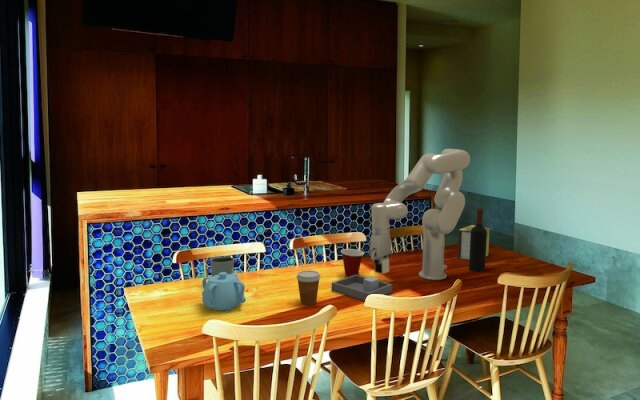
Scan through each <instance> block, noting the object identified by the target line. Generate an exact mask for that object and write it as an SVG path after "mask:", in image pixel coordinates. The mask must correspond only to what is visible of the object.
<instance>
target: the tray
mask: <svg viewBox="0 0 640 400" xmlns="http://www.w3.org/2000/svg"><path fill="white" fill-rule="evenodd" d="M366 278H367V277H365V276H362V275H360V274H358V275H353V276H350V277H345V278H341V279H338V280H336V281H332V282H331V291H332V292H335V293H338V294H340V295H344V296H347V297H351V298H353V299H356V300H360V301H363V302H366V301H365V299H366V297H367V296H368V295H370V294H384V295H385V296H387V294H388V295H389V294H392V293H393V284H392V283H388V282H384V281H380V280H379V287H378V289H376V290H373V291H371V292H365V291H363V279H366Z"/></svg>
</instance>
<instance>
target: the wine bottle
mask: <svg viewBox="0 0 640 400" xmlns="http://www.w3.org/2000/svg"><path fill="white" fill-rule="evenodd" d="M483 218H484V209H483V208H477V209H476V220H475V221H476V222H475V223H476V224H475V227H473V228H472V229H471V236H470V256H469V260H468V270H469V271H470V272H472V273H473V272H475V273H483V272H485V271H486V260H487V256H486V243H487V230H486V229H485V228H484V227H485V226H483V221H484V219H483Z"/></svg>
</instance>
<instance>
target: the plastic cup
mask: <svg viewBox="0 0 640 400" xmlns="http://www.w3.org/2000/svg"><path fill="white" fill-rule="evenodd" d="M340 253H341V255H342V256H341V257H342V261H343V269H344V275H345V278H347V277H350V276H353V275H359V274H360V273H359V272H360V268H361V263H362V259H363V256H364V255H365V252H363V250H360V249H355V248H345V249H341V250H340Z"/></svg>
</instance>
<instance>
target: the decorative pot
mask: <svg viewBox="0 0 640 400" xmlns="http://www.w3.org/2000/svg"><path fill="white" fill-rule="evenodd" d="M201 284H202V287H203V291H202V292H201V295H202V299H201V302H202V303H203V305H204V306H205V307H206V308H208V309H209V308H210V310H216V311H222V312H225V311H226V312H230V310H232V309H234V308H237V307H238V306H240V305H241V304H244V303H245V302H246V300H247V298H246V296H245V289H246V288H245V284H244V283H243V282H242V281H241V280H240V279H239V277H238V275H237V274H236V273H233V274H227V273H226V272H221V273H219V275H215V276H213V277H212V276H206V277H204V278H203V279H202V283H201Z"/></svg>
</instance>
